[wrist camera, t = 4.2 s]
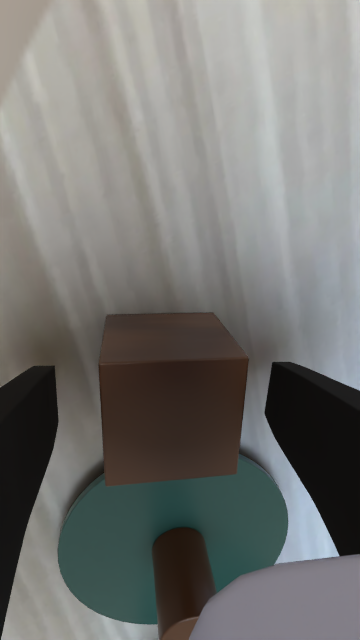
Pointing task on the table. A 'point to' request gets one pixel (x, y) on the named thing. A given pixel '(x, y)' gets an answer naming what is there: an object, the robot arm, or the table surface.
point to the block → (170, 397)
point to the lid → (170, 544)
